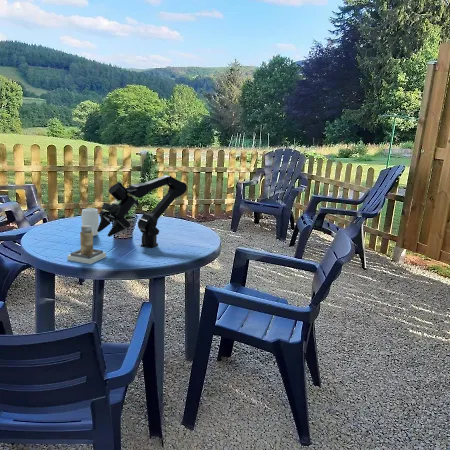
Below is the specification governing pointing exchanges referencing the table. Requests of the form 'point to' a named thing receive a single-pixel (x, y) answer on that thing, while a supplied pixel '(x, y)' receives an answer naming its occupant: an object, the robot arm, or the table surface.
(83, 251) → the pepper mill
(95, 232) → the cup
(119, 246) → the table surface
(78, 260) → the stand
